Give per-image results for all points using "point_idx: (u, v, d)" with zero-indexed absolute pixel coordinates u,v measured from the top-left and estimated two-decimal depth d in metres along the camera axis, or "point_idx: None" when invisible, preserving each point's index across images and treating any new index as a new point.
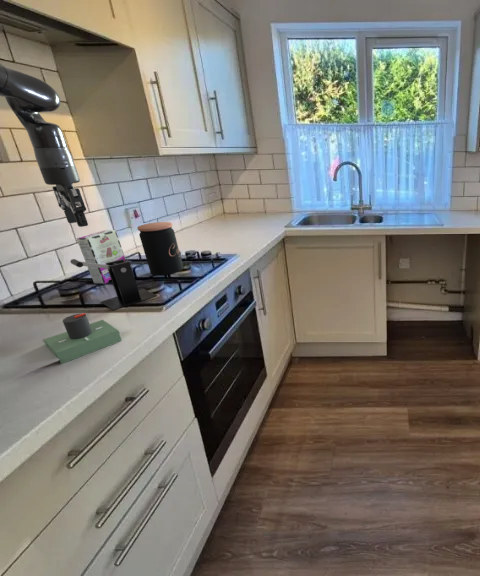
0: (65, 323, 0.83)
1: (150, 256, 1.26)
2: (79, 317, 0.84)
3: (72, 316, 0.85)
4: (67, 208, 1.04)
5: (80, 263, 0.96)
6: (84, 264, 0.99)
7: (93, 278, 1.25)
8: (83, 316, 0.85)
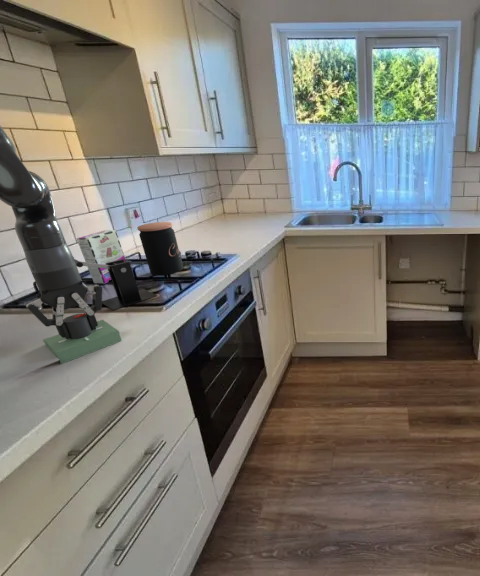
0: (65, 323, 0.83)
1: (150, 256, 1.26)
2: (79, 317, 0.84)
3: (72, 316, 0.85)
4: (86, 313, 0.86)
5: (80, 263, 0.96)
6: (84, 264, 0.99)
7: (93, 278, 1.25)
8: (83, 316, 0.85)
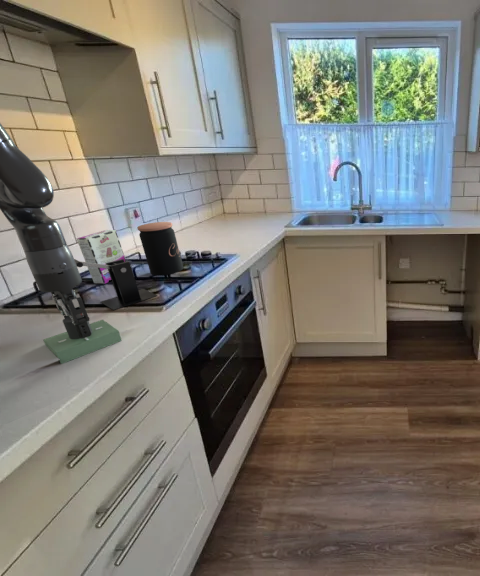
0: None
1: (150, 256, 1.26)
2: (78, 315, 0.85)
3: (67, 319, 0.83)
4: None
5: (80, 263, 0.96)
6: (84, 264, 0.99)
7: (93, 278, 1.25)
8: (77, 314, 0.86)
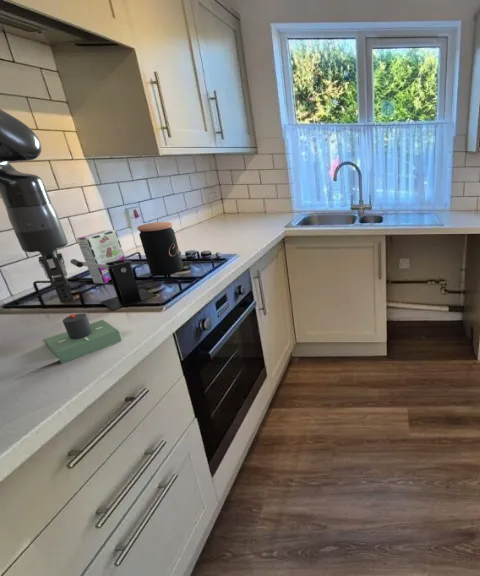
0: (81, 320, 0.84)
1: (150, 256, 1.26)
2: (78, 315, 0.85)
3: (67, 319, 0.83)
4: None
5: (80, 263, 0.96)
6: (84, 264, 0.99)
7: (93, 278, 1.25)
8: (77, 314, 0.86)
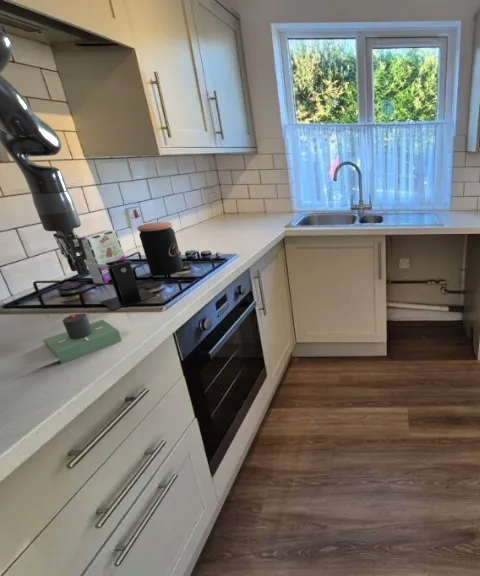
0: (81, 320, 0.84)
1: (150, 256, 1.26)
2: (78, 315, 0.85)
3: (67, 319, 0.83)
4: None
5: None
6: None
7: (93, 278, 1.25)
8: (77, 314, 0.86)
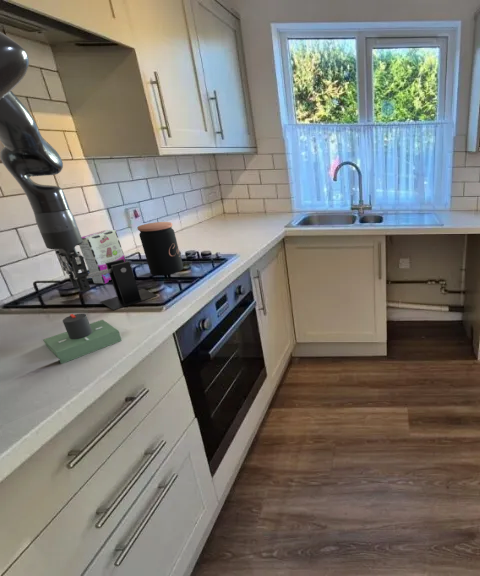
0: (81, 320, 0.84)
1: (150, 256, 1.26)
2: (78, 315, 0.85)
3: (67, 319, 0.83)
4: None
5: None
6: None
7: (93, 278, 1.25)
8: (77, 314, 0.86)
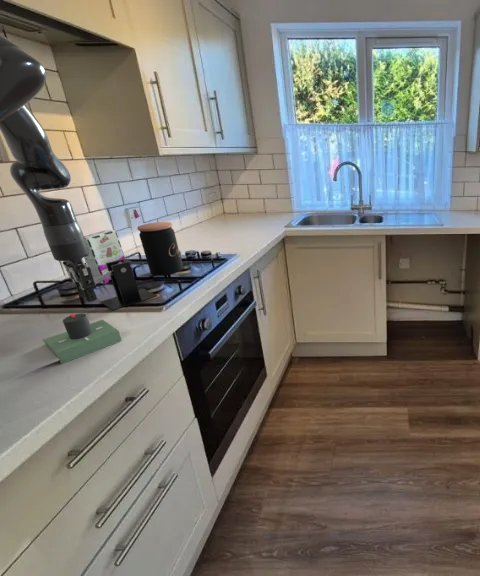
0: (81, 320, 0.84)
1: (150, 256, 1.26)
2: (78, 315, 0.85)
3: (67, 319, 0.83)
4: None
5: None
6: None
7: (93, 278, 1.25)
8: (77, 314, 0.86)
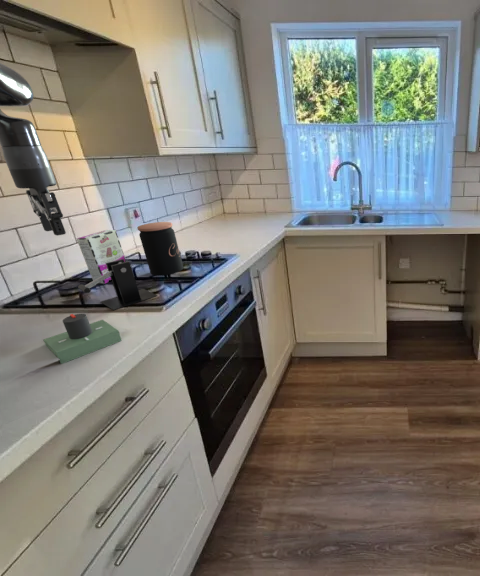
0: (81, 320, 0.84)
1: (150, 256, 1.26)
2: (78, 315, 0.85)
3: (67, 319, 0.83)
4: None
5: (86, 289, 0.99)
6: (90, 285, 1.01)
7: (93, 278, 1.25)
8: (77, 314, 0.86)
